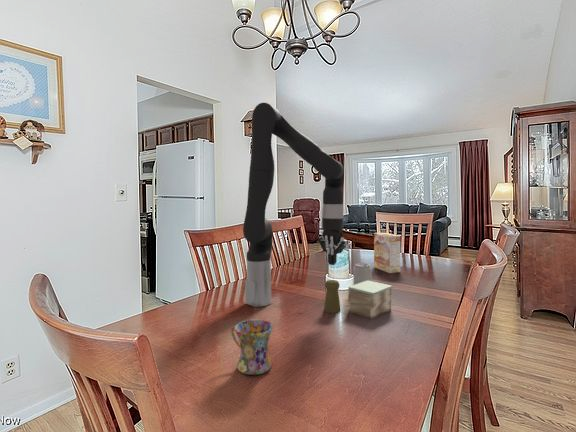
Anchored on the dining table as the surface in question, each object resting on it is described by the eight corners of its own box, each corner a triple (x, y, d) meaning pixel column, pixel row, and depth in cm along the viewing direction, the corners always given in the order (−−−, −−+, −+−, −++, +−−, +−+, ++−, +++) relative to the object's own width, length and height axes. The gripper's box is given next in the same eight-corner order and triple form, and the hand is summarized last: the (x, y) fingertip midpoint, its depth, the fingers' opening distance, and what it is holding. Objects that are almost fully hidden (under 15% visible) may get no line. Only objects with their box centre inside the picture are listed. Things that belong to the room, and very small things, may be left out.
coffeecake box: (373, 267, 189) (373, 232, 188) (384, 266, 191) (384, 232, 190) (389, 273, 175) (389, 236, 173) (400, 272, 177) (401, 235, 175)
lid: (373, 295, 113) (373, 293, 113) (348, 288, 120) (348, 286, 120) (392, 287, 121) (392, 285, 121) (367, 282, 128) (367, 280, 128)
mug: (280, 365, 84) (280, 324, 83) (257, 383, 77) (256, 337, 76) (244, 352, 91) (243, 314, 90) (219, 368, 83) (218, 326, 82)
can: (371, 295, 139) (371, 266, 138) (353, 294, 141) (353, 266, 140) (370, 289, 146) (371, 262, 146) (353, 289, 148) (353, 262, 147)
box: (372, 319, 113) (372, 295, 113) (348, 311, 121) (348, 289, 120) (391, 310, 121) (391, 288, 121) (367, 303, 129) (367, 283, 128)
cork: (329, 306, 126) (329, 277, 126) (343, 309, 123) (343, 280, 122) (320, 310, 122) (320, 280, 121) (335, 314, 118) (334, 283, 117)
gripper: (311, 216, 122) (311, 263, 124) (340, 218, 113) (340, 269, 114) (325, 215, 127) (325, 260, 129) (354, 217, 118) (353, 265, 119)
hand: (332, 264), depth 121 cm, fingers closed
